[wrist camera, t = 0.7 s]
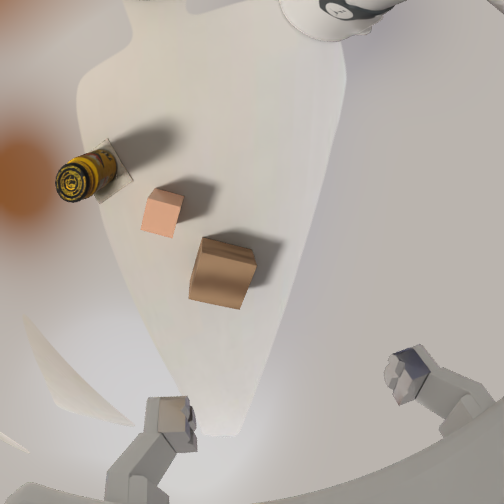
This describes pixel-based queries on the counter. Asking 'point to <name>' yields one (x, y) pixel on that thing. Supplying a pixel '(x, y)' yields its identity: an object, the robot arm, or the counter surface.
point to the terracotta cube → (162, 212)
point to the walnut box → (221, 274)
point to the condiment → (92, 175)
